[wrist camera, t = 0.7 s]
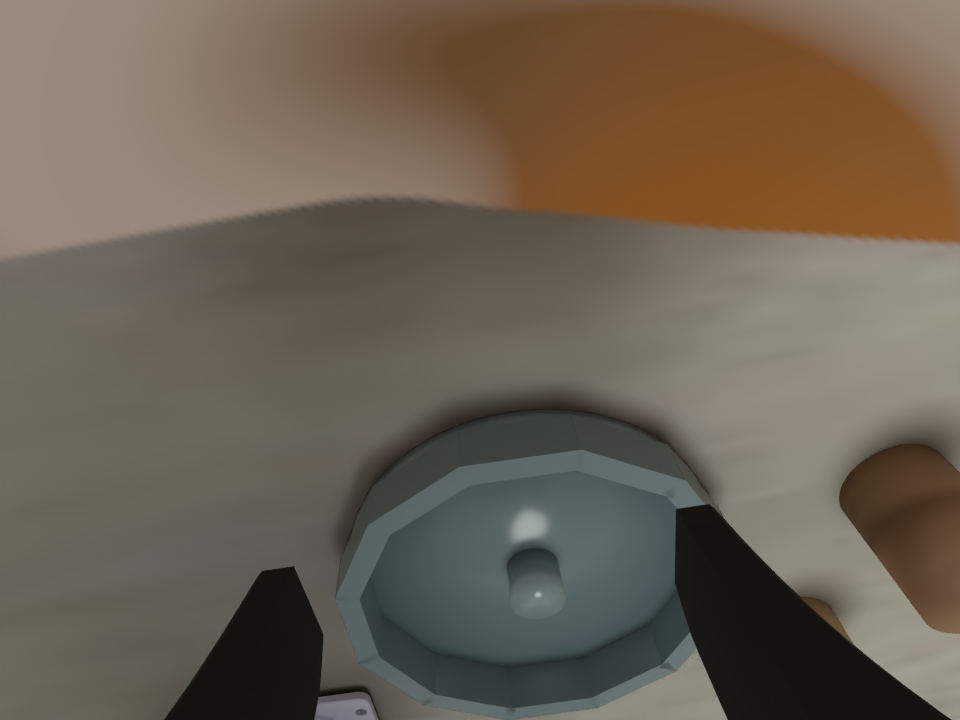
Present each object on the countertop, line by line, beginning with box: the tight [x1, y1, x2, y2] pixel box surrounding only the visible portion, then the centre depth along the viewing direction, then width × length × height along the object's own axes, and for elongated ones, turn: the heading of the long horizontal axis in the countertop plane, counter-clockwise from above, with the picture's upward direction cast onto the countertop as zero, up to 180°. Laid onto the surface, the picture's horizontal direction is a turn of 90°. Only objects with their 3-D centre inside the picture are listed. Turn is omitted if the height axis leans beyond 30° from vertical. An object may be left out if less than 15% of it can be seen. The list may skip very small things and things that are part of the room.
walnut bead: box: [839, 444, 960, 634], centre depth 23 cm, size 4×4×5 cm
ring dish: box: [335, 409, 723, 720], centre depth 25 cm, size 14×14×2 cm
